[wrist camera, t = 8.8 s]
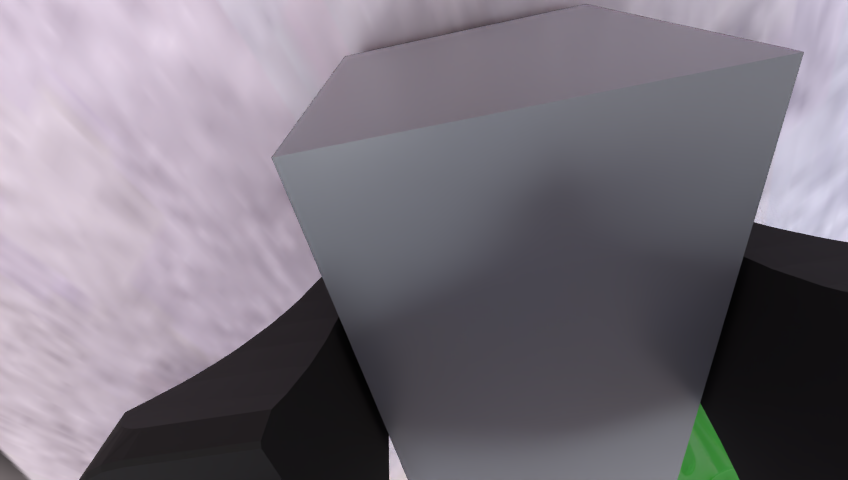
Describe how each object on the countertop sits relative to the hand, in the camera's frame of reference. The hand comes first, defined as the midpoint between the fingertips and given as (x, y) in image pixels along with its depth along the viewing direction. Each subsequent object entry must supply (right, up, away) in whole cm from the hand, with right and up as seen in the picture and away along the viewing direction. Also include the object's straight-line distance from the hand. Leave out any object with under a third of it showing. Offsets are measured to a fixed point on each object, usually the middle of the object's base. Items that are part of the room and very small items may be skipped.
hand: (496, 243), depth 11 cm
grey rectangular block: (0, +1, +2) cm, 2 cm away
